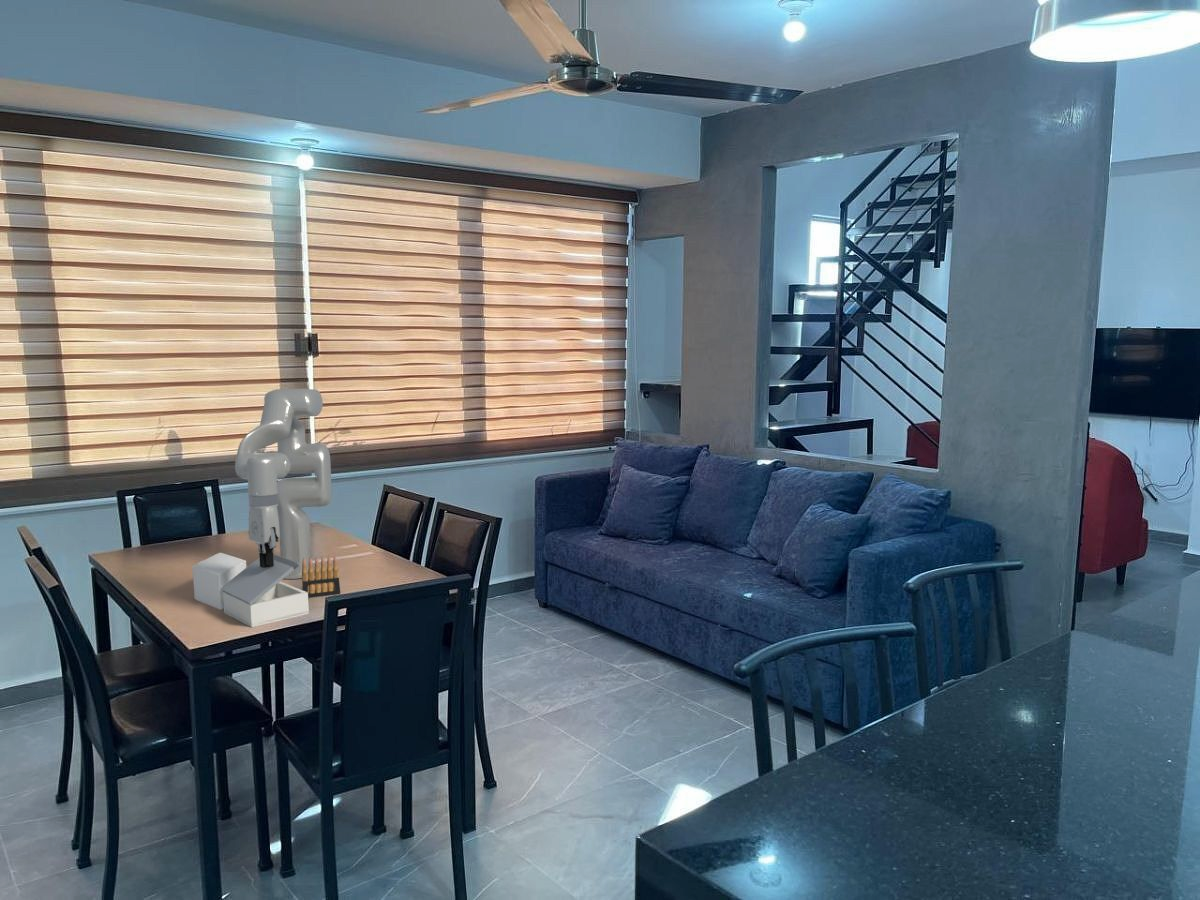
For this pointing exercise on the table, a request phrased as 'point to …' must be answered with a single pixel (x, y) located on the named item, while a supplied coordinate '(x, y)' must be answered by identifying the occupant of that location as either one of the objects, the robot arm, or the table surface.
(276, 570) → the lid
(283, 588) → the box
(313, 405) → the robot arm
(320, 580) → the ammunition clip
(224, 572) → the white rectangular block
